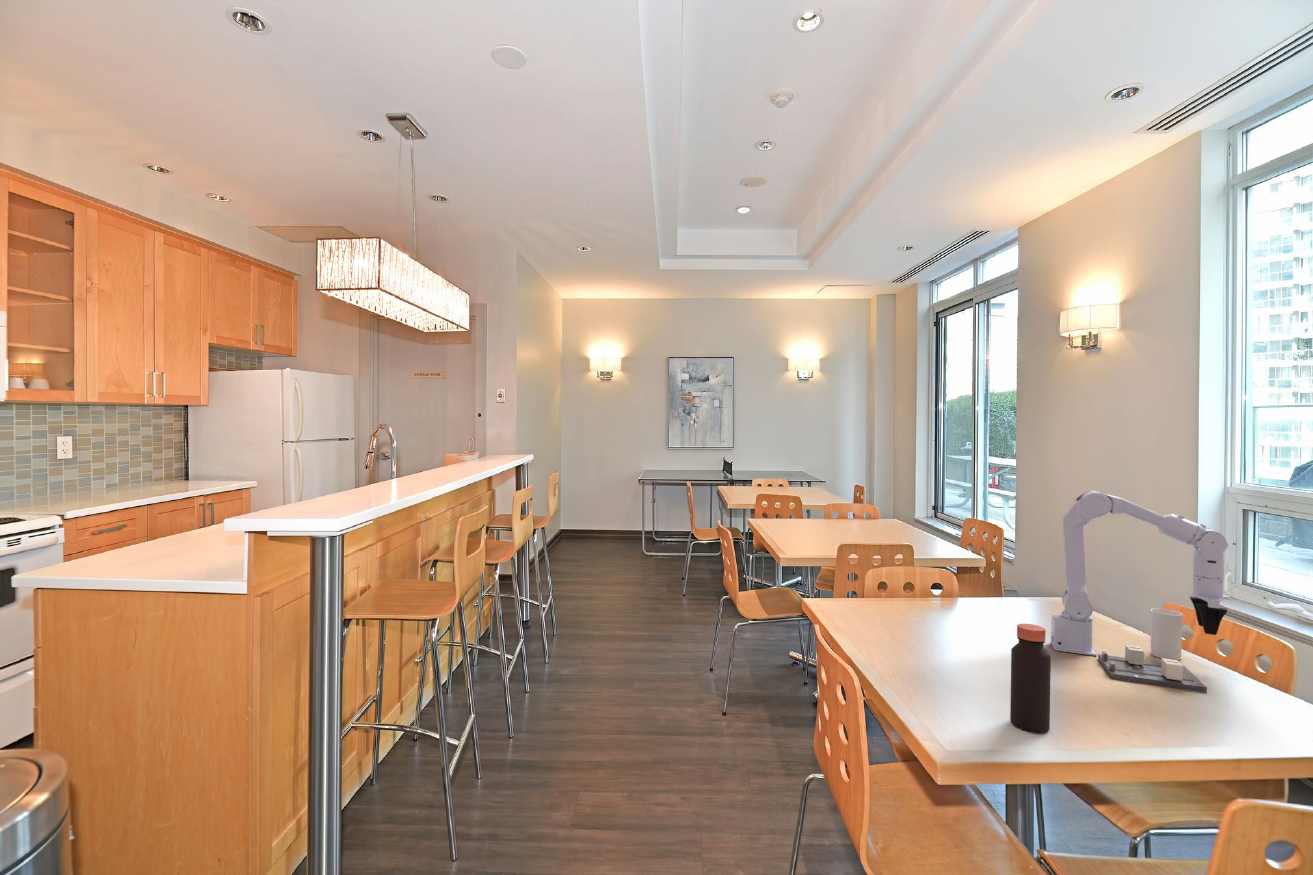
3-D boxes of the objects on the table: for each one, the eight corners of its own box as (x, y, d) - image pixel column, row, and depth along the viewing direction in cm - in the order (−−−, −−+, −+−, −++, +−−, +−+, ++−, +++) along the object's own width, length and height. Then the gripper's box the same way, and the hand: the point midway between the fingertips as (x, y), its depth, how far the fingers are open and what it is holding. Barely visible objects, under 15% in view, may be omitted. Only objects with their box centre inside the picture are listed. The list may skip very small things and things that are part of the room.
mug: (1185, 662, 161) (1186, 616, 161) (1153, 658, 164) (1154, 613, 164) (1173, 650, 170) (1174, 607, 170) (1143, 646, 173) (1144, 604, 173)
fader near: (1166, 678, 146) (1166, 663, 146) (1161, 672, 150) (1161, 657, 150) (1182, 680, 145) (1182, 665, 145) (1177, 674, 148) (1177, 659, 148)
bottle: (1035, 718, 127) (1036, 621, 127) (1057, 734, 120) (1059, 632, 120) (1003, 718, 127) (1004, 621, 127) (1023, 734, 120) (1025, 632, 120)
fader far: (1129, 663, 156) (1129, 649, 156) (1125, 658, 159) (1125, 644, 159) (1143, 665, 154) (1144, 650, 154) (1139, 660, 158) (1139, 646, 158)
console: (1111, 678, 149) (1111, 666, 149) (1097, 658, 163) (1098, 647, 163) (1207, 692, 142) (1207, 680, 142) (1184, 670, 155) (1184, 659, 155)
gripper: (1236, 584, 148) (1235, 640, 148) (1222, 573, 160) (1221, 625, 160) (1197, 580, 152) (1196, 635, 152) (1187, 570, 164) (1186, 620, 164)
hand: (1207, 630), depth 156 cm, fingers open, 7 cm apart
